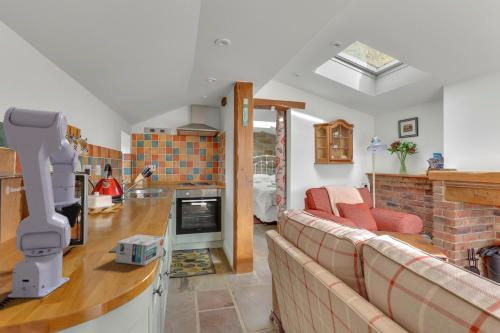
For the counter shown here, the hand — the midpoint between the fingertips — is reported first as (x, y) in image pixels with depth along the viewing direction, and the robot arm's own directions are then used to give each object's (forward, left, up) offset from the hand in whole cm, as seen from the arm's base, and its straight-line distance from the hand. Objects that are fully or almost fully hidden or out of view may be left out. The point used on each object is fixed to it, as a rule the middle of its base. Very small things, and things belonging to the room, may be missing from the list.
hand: (62, 230), depth 77 cm
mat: (+17, -14, -10) cm, 24 cm away
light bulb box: (+6, -17, -7) cm, 19 cm away
